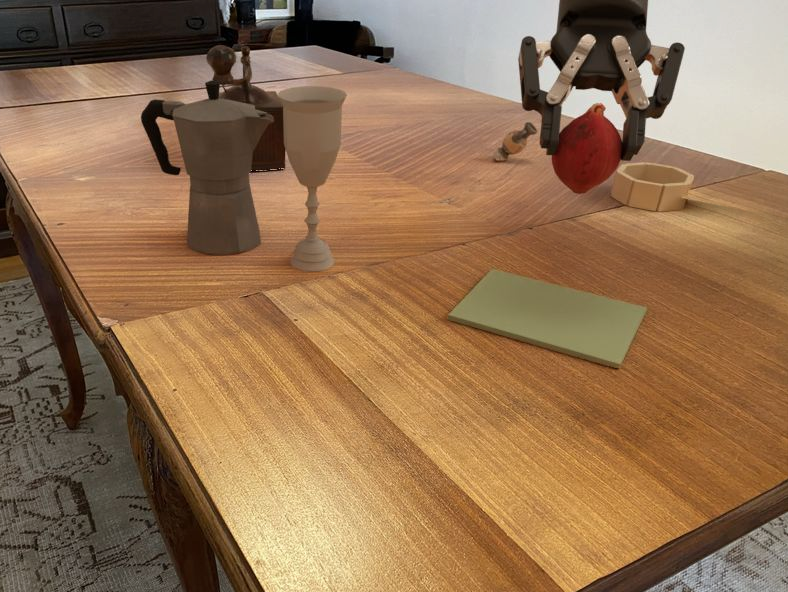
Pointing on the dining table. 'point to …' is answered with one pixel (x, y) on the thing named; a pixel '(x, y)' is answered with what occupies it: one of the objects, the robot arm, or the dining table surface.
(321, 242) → the chalice
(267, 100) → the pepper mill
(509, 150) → the vase
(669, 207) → the octagonal bowl
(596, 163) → the onion
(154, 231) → the dining table surface
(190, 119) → the coffeepot
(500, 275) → the mat
